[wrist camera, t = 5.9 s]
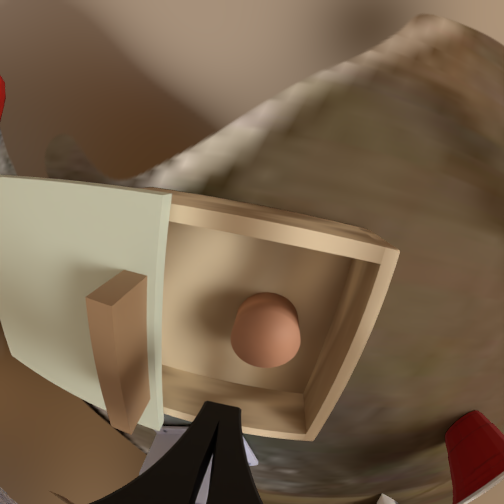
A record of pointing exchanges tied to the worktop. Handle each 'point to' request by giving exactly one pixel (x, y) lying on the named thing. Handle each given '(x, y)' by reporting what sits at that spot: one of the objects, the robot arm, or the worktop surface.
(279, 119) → the worktop surface
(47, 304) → the lid
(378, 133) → the worktop surface
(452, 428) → the plastic cup
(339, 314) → the storage box
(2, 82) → the tomato
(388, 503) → the pouch
